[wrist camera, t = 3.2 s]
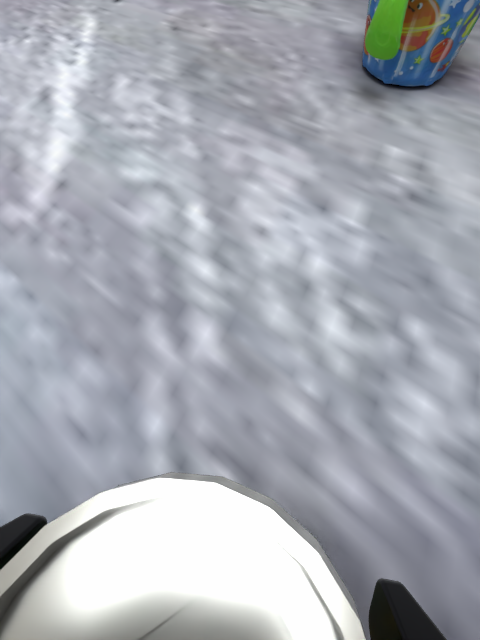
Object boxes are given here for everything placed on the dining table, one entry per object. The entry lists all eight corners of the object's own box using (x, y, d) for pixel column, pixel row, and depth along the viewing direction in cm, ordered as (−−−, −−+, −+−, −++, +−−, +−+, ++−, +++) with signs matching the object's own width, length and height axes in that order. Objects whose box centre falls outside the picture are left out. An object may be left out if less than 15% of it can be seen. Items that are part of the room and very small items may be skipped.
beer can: (167, 729, 12) (-216, 1706, 2) (129, 551, 15) (-123, 564, 5) (312, 647, 13) (563, 999, 3) (252, 494, 16) (277, 402, 6)
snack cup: (396, 25, 39) (441, -123, 31) (493, 59, 36) (575, -99, 27) (304, 81, 33) (327, -83, 25) (408, 128, 30) (478, -45, 21)
